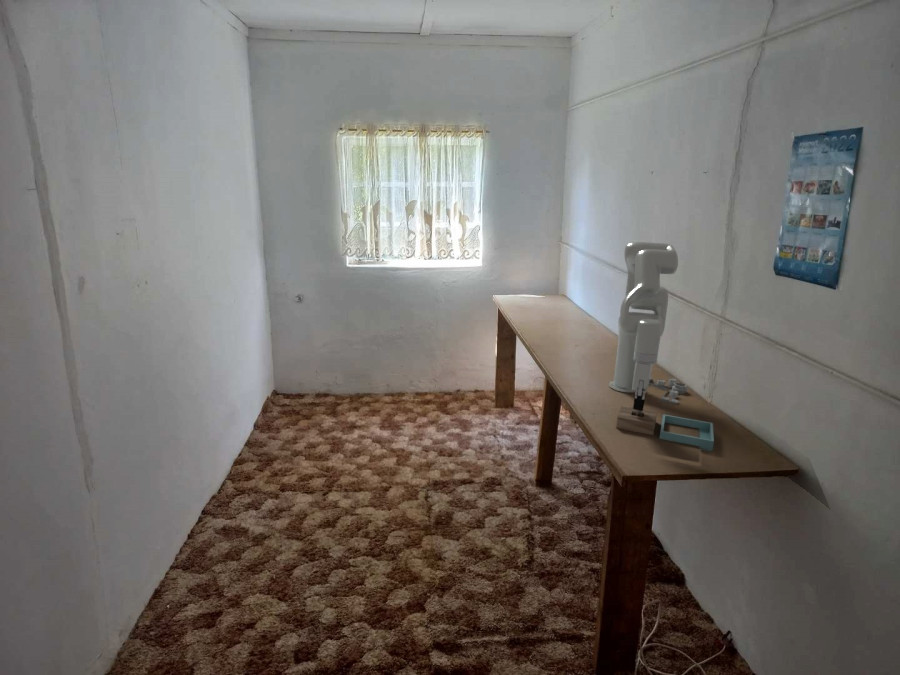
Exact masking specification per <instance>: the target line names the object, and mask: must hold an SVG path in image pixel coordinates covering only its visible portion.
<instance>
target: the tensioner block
mask: <svg viewBox="0 0 900 675" xmlns="http://www.w3.org/2000/svg"><path fill="white" fill-rule="evenodd" d="M633 410H634V409H633V406H629V405H624V404H621V406H620V409H619V412H618V415H617V419H616V426H615V428H616V429H619V430H625V431H631V432H635V433H640V434H646V435H650V436H655V435H654V434H655V429H656V424H657V423H656V422H657V416H658V411H657V410H653V409H648V408H647V409H646V408H643V412H642V417H639V416H634V415H633Z"/></svg>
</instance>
